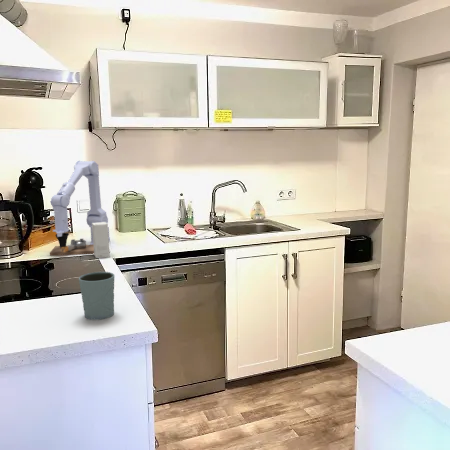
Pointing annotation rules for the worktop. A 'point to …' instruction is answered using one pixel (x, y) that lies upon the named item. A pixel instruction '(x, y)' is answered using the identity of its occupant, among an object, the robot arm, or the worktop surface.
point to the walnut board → (72, 251)
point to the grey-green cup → (97, 294)
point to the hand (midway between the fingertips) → (63, 248)
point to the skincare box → (100, 240)
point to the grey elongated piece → (74, 245)
